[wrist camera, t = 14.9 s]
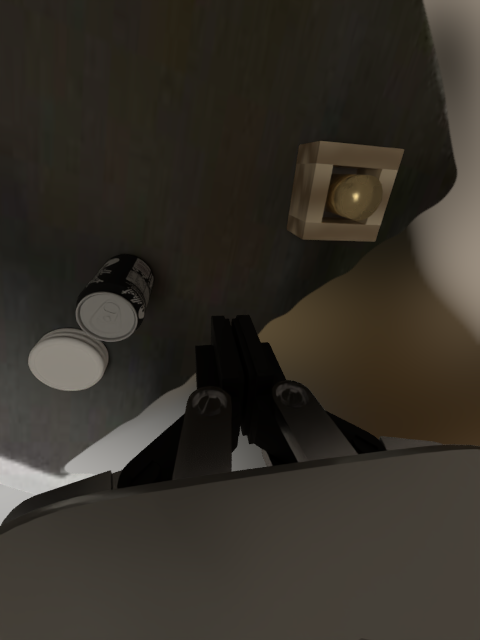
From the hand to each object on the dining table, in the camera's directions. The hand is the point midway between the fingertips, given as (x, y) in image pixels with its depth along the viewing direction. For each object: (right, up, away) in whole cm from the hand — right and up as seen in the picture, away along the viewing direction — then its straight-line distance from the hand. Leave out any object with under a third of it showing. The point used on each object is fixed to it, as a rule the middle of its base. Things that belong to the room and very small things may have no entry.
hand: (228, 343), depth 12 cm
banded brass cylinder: (+12, +18, +23) cm, 31 cm away
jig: (+12, +18, +24) cm, 32 cm away
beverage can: (-15, +7, +25) cm, 30 cm away
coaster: (-26, -4, +30) cm, 40 cm away
